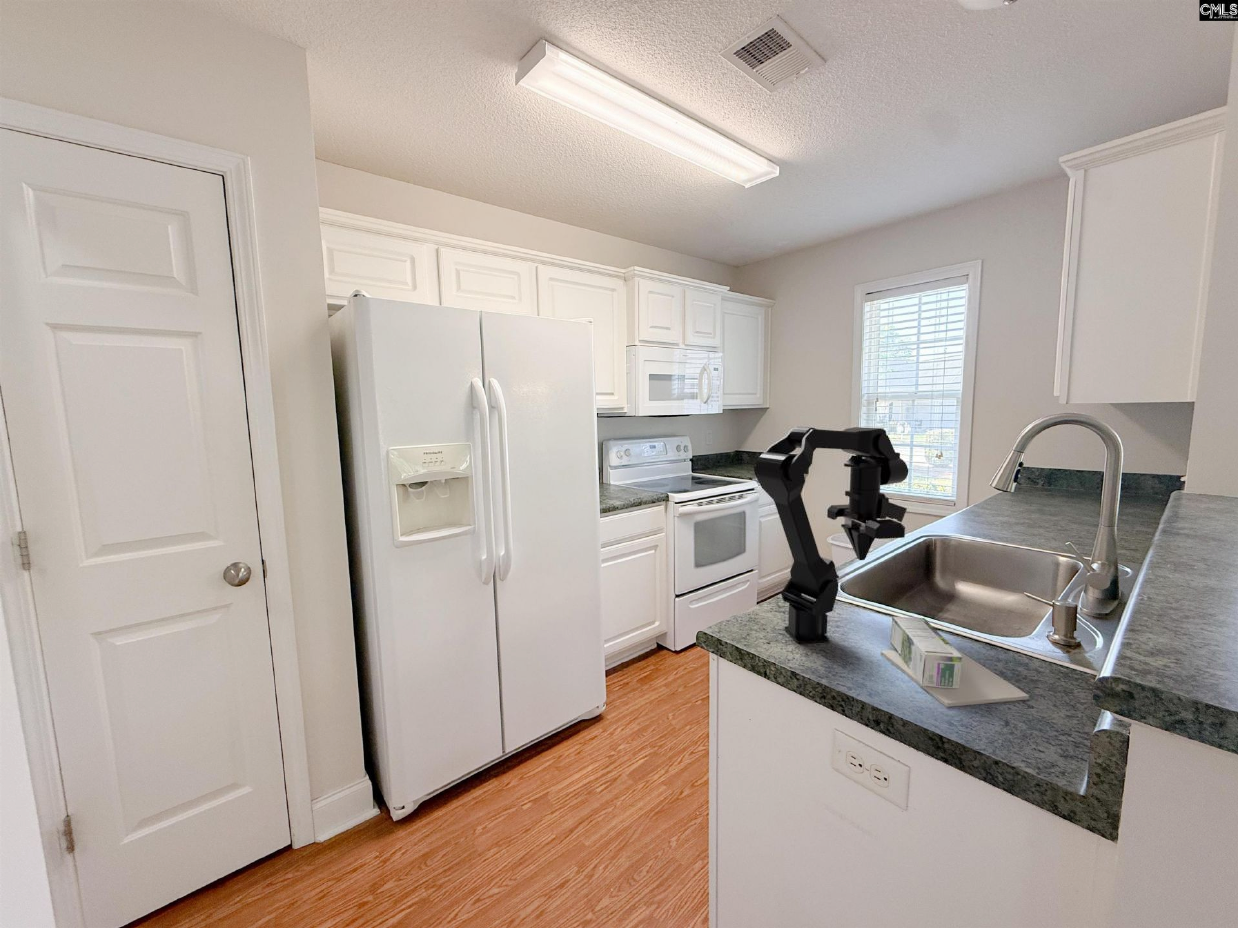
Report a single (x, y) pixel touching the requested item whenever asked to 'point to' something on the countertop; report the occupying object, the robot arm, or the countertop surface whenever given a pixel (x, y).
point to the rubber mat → (966, 684)
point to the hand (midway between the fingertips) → (861, 559)
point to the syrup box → (926, 652)
